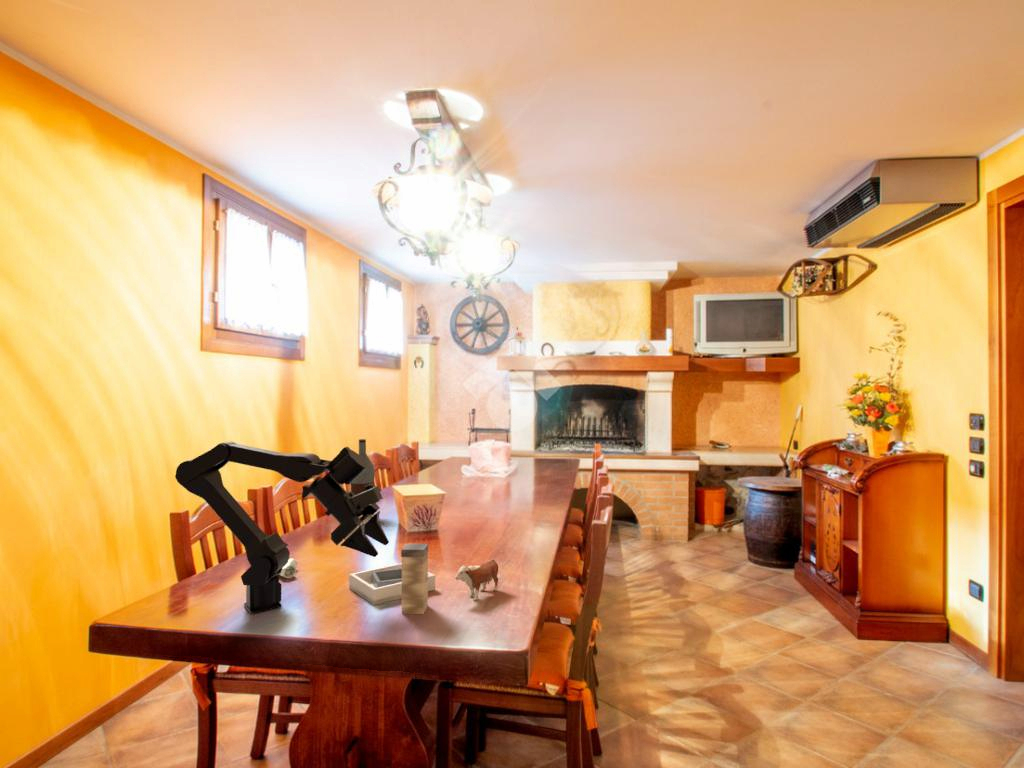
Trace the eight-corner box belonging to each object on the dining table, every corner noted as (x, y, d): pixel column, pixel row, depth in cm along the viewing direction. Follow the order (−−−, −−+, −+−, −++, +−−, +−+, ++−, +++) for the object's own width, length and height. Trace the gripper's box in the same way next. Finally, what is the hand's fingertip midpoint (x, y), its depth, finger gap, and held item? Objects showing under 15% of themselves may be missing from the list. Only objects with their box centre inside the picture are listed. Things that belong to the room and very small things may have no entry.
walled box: (374, 605, 129) (374, 589, 129) (349, 588, 140) (349, 574, 140) (435, 589, 139) (435, 575, 139) (407, 575, 150) (407, 561, 150)
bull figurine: (451, 601, 132) (451, 566, 132) (491, 586, 142) (491, 553, 142) (465, 606, 129) (465, 570, 129) (504, 590, 139) (504, 556, 139)
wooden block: (401, 613, 125) (401, 549, 125) (406, 605, 130) (406, 543, 130) (423, 614, 124) (423, 549, 124) (428, 605, 129) (428, 543, 129)
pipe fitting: (291, 569, 157) (267, 574, 152) (292, 555, 157) (269, 559, 152) (307, 576, 152) (283, 580, 147) (308, 561, 152) (284, 565, 147)
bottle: (368, 515, 222) (368, 438, 222) (379, 519, 215) (379, 439, 215) (345, 518, 216) (345, 439, 216) (355, 522, 209) (355, 441, 209)
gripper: (347, 480, 119) (398, 535, 118) (372, 468, 137) (416, 515, 137) (308, 517, 119) (359, 572, 119) (339, 500, 138) (383, 547, 137)
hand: (382, 549), depth 128 cm, fingers open, 9 cm apart
